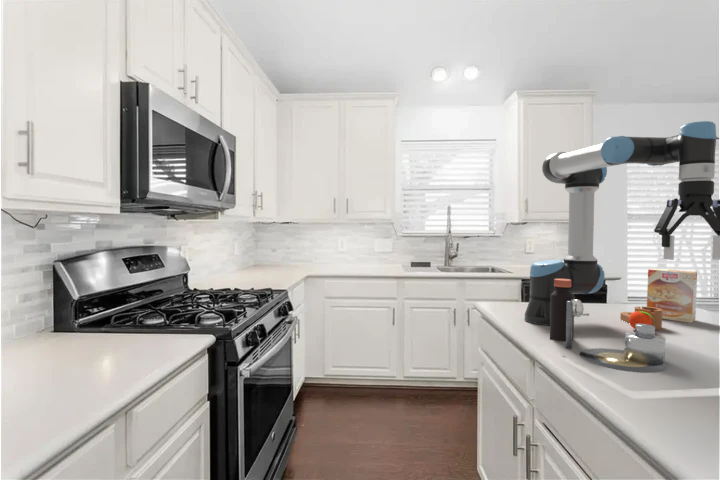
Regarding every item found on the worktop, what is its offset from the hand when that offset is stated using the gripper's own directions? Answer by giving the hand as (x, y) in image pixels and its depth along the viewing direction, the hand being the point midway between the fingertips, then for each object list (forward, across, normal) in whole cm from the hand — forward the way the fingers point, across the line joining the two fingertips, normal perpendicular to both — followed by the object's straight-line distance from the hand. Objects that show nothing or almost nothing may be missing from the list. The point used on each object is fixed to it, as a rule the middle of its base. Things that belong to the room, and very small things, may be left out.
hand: (693, 259), depth 113 cm
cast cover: (+27, -14, -2) cm, 30 cm away
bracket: (+28, +16, +44) cm, 55 cm away
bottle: (+28, -26, +18) cm, 43 cm away
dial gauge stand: (+28, -27, +8) cm, 40 cm away
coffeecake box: (+28, +35, +52) cm, 69 cm away
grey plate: (+28, -20, -2) cm, 35 cm away
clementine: (+28, +10, +33) cm, 44 cm away
